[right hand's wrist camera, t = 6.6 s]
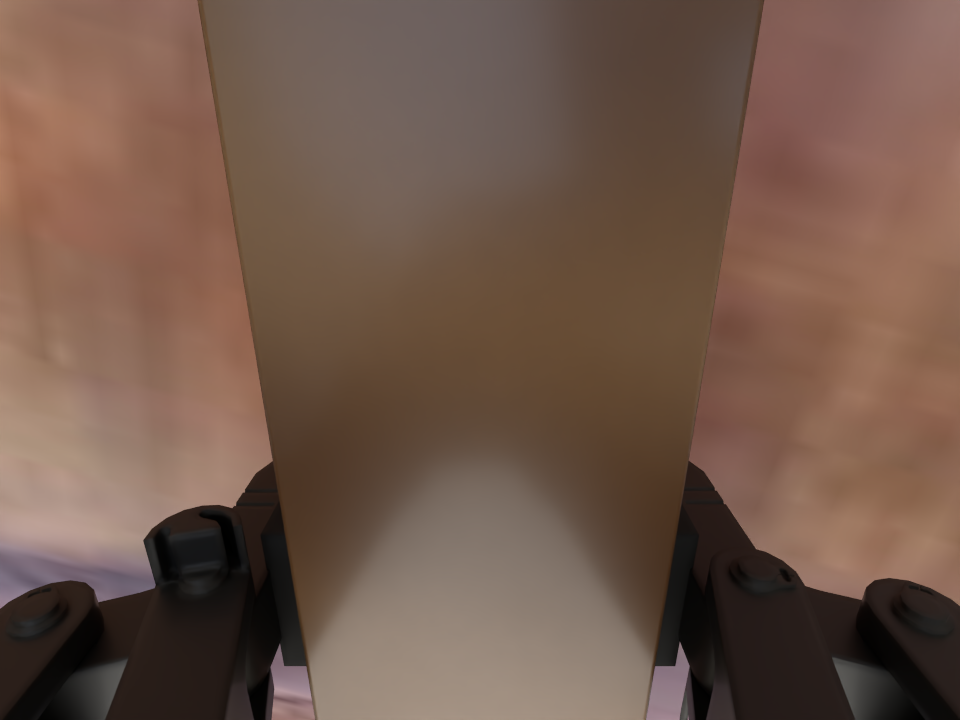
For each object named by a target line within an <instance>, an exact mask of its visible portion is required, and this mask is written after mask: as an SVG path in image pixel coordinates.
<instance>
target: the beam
mask: <svg viewBox="0 0 960 720" xmlns="http://www.w3.org/2000/svg"><path fill="white" fill-rule="evenodd" d="M763 4H764V0H198V6H199V12H200V18H201V24H202V30H203V36H204V43H205V49H206V55H207V61H208V67H209V73H210V79H211V85H212V91H213V98H214V104H215V110H216V116H217V122H218V128H219V134H220V140H221V146H222V153H223V159H224V165H225V171H226V177H227V183H228V189H229V195H230V201H231V207H232V214H233V220H234V226H235V232H236V238H237V244H238V250H239V256H240V262H241V269H242V275H243V281H244V287H245V293H246V299H247V305H248V311H249V317H250V324H251V330H252V336H253V342H254V348H255V354H256V360H257V366H258V372H259V379H260V385H261V391H262V397H263V403H264V409H265V415H266V421H267V427H268V434H269V440H270V446H271V452H272V458H273V464H274V470H275V476H276V482H277V489H278V495H279V501H280V507H281V513H282V519H283V525H284V531H285V537H286V544H287V550H288V556H289V562H290V568H291V574H292V580H293V586H294V592H295V599H296V605H297V611H298V617H299V623H300V629H301V635H302V641H303V647H304V654H305V660H306V666H307V672H308V678H309V684H310V690H311V696H312V702H313V709H314V715H315V720H646V717H647V711H648V705H649V699H650V693H651V687H652V681H653V675H654V668H655V662H656V656H657V650H658V644H659V638H660V632H661V626H662V620H663V614H664V608H665V601H666V595H667V589H668V583H669V577H670V571H671V565H672V559H673V553H674V547H675V540H676V534H677V528H678V522H679V516H680V510H681V504H682V498H683V492H684V486H685V480H686V473H687V467H688V461H689V455H690V449H691V443H692V437H693V431H694V425H695V419H696V412H697V406H698V400H699V394H700V388H701V382H702V376H703V370H704V364H705V358H706V352H707V345H708V339H709V333H710V327H711V321H712V315H713V309H714V303H715V297H716V291H717V284H718V278H719V272H720V266H721V260H722V254H723V248H724V242H725V236H726V230H727V224H728V217H729V211H730V205H731V199H732V193H733V187H734V181H735V175H736V169H737V163H738V156H739V150H740V144H741V138H742V132H743V126H744V120H745V114H746V108H747V102H748V96H749V89H750V83H751V77H752V71H753V65H754V59H755V53H756V47H757V41H758V35H759V28H760V22H761V16H762V10H763Z"/></svg>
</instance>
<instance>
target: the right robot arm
mask: <svg viewBox="0 0 960 720" xmlns="http://www.w3.org/2000/svg"><path fill="white" fill-rule="evenodd" d="M143 541H144V545H145V548H146V552H147V555H148V559H149V562H150V566H151V569H152V573H153V576H154V580H155V583H156V586H155V588H154V589H151V590H148V591H144V592H141V593H137V594H133V595H128V596H124V597H120V598H115V599H111V600H107V601H102V602H98V600H97V597H96V595H95V592H94V589H92V588H91V587H90V586H89V585H88V584H86V583H84V582H78V581H71V580H70V581H63V582H56V583H51V584H48V585H45V586H42V587H39V588H36V589H33V590H30V591H28V592H27V593H25V594H23V595H21V596H19V597H17V598H15V599H14V600H12V601H10V602H8V603H7V604H6V605H5V606H3V607H2V608H1V609H0V720H271V718H272V707H273V696H274V685H273V678H272V673H271V668H270V667H271V664H272V662H273V659H274V657H275V654H276V652H277V649H278V647H279V644H280V645H281V651H282V656H283V661H284V666H306V660H305V654H304V647H303V641H302V635H301V629H300V623H299V617H298V611H297V605H296V599H295V592H294V586H293V580H292V574H291V568H290V562H289V556H288V550H287V544H286V537H285V531H284V525H283V519H282V513H281V507H280V501H279V495H278V489H277V482H276V476H275V470H274V464H273V461H272V462H271V463H270V464H268V465H267V466H266V467H264V468H263V469H261V470H260V471H259V472H257V473H256V474H255V476H254V477H253V479H252V480H251V482H250V483H249V485H248V486H247V488H246V489H245V493H243V494H242V495H241V497H240V498H239V500H238V501H237V503H236V506H234V507H233V508H229V507H225V506H221V505H208V506H199V507H195V508H191V509H187V510H183V511H181V512H179V513H177V514H175V515H172V516H170V517H168V518H166V519H165V520H163V521H162V522H161V523H159V524H158V525H157V526H155V527H154V528H152V530H151V531H150V532H149V534H148V535H147V536H146V538H145V539H144V540H143ZM679 642H680V643H681V645H682V648H683V650H684V653H685V655H686V658H687V660H688V663H689V665H690V668H689V673H688V678H687V683H686V688H685V693H684V698H683V703H682V708H681V714H680V720H687V719H688V716H689V720H960V606H959V605H958V604H956V603H955V602H954V601H953V600H951V599H949V598H948V597H946V596H944V595H942V594H940V593H938V592H936V591H935V590H933V589H931V588H928V587H925V586H923V585H920V584H917V583H914V582H911V581H907V580H899V579H892V578H887V579H880V580H874V581H873V582H872V583H871V584H870V585H869V586H867V587H866V590H865V593H864V596H863V599H862V600H859V599H854V598H850V597H846V596H841V595H837V594H833V593H828V592H824V591H820V590H816V589H813V588H810V587H806V586H805V585H804V583H803V582H802V580H801V579H800V577H799V576H798V574H797V573H796V571H794V570H793V569H792V568H791V567H790V566H788V565H787V564H786V563H785V562H784V561H782V560H780V559H778V558H776V557H774V556H772V555H771V554H769V553H767V552H764V551H760V550H756V549H755V547H754V546H753V544H752V543H751V541H750V540H749V538H748V537H747V535H746V534H745V532H744V531H743V529H742V528H741V526H740V525H739V523H738V522H737V520H736V519H735V517H734V516H733V514H732V513H731V511H730V510H729V508H728V507H727V505H726V504H724V503H723V499H722V498H721V497H720V495H719V494H718V492H717V491H715V488H714V486H713V485H712V483H711V482H710V480H709V479H708V477H707V476H706V474H705V473H704V472H703V471H702V470H701V469H699V468H698V467H697V466H695V465H694V464H692V463H691V462H690V461H688V467H687V473H686V480H685V486H684V492H683V498H682V504H681V510H680V516H679V522H678V528H677V534H676V540H675V547H674V553H673V559H672V565H671V571H670V577H669V583H668V589H667V595H666V601H665V608H664V614H663V620H662V626H661V632H660V638H659V644H658V650H657V656H656V662H655V666H675V664H676V659H677V653H678V648H679Z"/></svg>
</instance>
